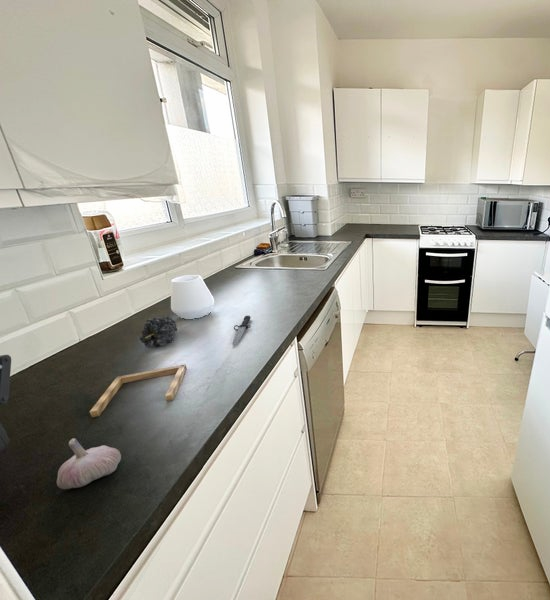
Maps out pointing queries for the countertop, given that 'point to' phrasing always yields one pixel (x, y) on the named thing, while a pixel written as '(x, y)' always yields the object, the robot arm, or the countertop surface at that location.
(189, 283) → the white tapered hollow cylinder
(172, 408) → the countertop surface
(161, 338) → the fruit
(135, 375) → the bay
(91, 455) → the garlic bulb
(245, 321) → the knife
